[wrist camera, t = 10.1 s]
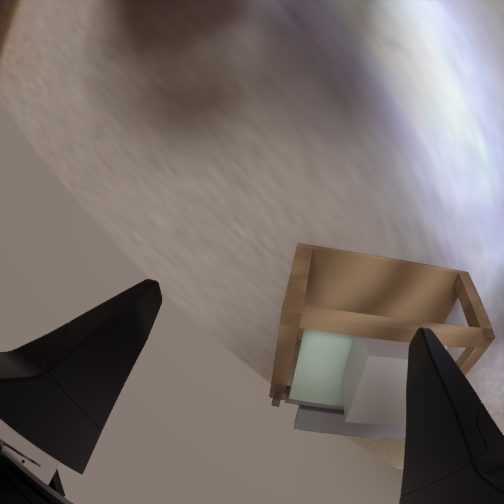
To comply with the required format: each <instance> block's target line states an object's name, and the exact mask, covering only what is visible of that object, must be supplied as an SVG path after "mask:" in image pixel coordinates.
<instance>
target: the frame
mask: <svg viewBox="0 0 504 504" xmlns="http://www.w3.org/2000/svg"><path fill="white" fill-rule="evenodd" d="M458 297H459V300H460V303H461V306H462V308H463V311H464V314H465V317H466V320H467V323H468V326H469V327H466V326H456V325H447V324H443V323H444V321H445V320H446V318H447V316H448V315H449V313H450V311H451V309H452V308H453V306H454V304H455V302H456V300H457V298H458ZM420 327H425V328H430V329H431V330H432V331H433V332H434V333H435V335H436V336H437V337H438V339H439V340H440V342H441V343H442V344H443V346H452V347H467V348H466V349H465V351H464V352H463V353H462V355H461V356H460V357H459V359H458V360H457V361H456V364H457V365H458V367H459V368H460V370H461V371H462V373H463V374H464V376H465V375H466V374H467V373H468V371H469V370H470V369H471V368H472V367H473V365H474V364H475V363H476V362H477V361H478V359H479V358H480V357H481V356H482V354H483V353H484V352H485V350H486V349H487V348H488V347H489V345H490V344H491V343H492V341H493V340H494V338H495V335H494V332H493V329H492V327H491V324H490V321H489V319H488V316H487V314H486V311H485V309H484V306H483V304H482V302H481V299H480V297H479V295H478V292H477V290H476V288H475V286H474V284H473V281H472V279H471V277H470V275H469V273H468V272H465V271H459V270H454V269H448V268H443V267H437V266H431V265H426V264H420V263H414V262H409V261H403V260H397V259H391V258H385V257H379V256H374V255H368V254H362V253H356V252H350V251H343V250H337V249H331V248H325V247H319V246H313V245H306V244H300V243H298V244H297V248H296V253H295V257H294V261H293V266H292V270H291V274H290V278H289V283H288V287H287V291H286V295H285V299H284V303H283V307H282V312H281V319H280V327H279V334H278V341H277V349H276V356H275V363H274V369H273V376H272V383H271V389H270V396H269V397H271V398H273V400H272V406H278V407H279V404H280V400H281V399H282V400H286V396H287V394H290V390H291V386H286V385H287V381H288V377H289V372H290V368H291V364H292V359H293V355H294V350H295V345H296V341H297V340H299V341H301V340H302V336H303V331H304V328H305V329H311V330H318V331H324V332H330V333H337V334H344V335H351V336H358V337H365V338H373V339H381V340H389V341H398V342H408V343H410V342H411V340H412V338H413V337H414V335H415V333H416V331H417V330H418V328H420Z"/></svg>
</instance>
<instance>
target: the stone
mask: <svg viewBox="0 0 504 504" xmlns="http://www.w3.org/2000/svg"><path fill="white" fill-rule="evenodd" d="M409 344H410V343H408V342H398V341H389V340H381V339H373V338H365V337H358V336H354V340H353V343H352V347H351V351H350V354H349V358H348V361H347V365H346V368H345V371H344V374H343V378H342V389H343V402H344V417H345V422H351V423H363V424H380V425H406V381H407V367H408V349H409Z"/></svg>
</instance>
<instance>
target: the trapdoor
mask: <svg viewBox="0 0 504 504" xmlns="http://www.w3.org/2000/svg"><path fill="white" fill-rule="evenodd" d="M353 340H354V336H351V335H344V334H337V333H330V332H324V331H318V330H311V329H305V328H304V331H303V336H302V340H301V345H300V350H299V355H298V359H297V364H296V368H295V373H294V377H293V381H292V386H291V390H290V394H287V396H286V400H285V402H286V403H291V404H298V405H299V408H298V412H297V415H296V419H295V425H294V429H299V430H306V431H312V432H320V433H328V434H338V435H347V436H360V437H378V438H405V437H406V425H380V424H363V423H351V422H345V417H344V402H343V389H342V378H343V374H344V371H345V368H346V365H347V361H348V358H349V354H350V351H351V347H352V343H353ZM444 347H445V348H446V350H447V348H448V346H444Z"/></svg>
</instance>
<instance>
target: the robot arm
mask: <svg viewBox="0 0 504 504" xmlns="http://www.w3.org/2000/svg"><path fill="white" fill-rule="evenodd" d="M161 304H162V295H161V291H160V286H159V283H158V282H157V281H156V280H151V279H146V280H144V281H142V282H140V283H138V284H136V285H135V286H133V287H131V288H129V289H127V290H125V291H124V292H122V293H120V294H118V295H116V296H115V297H113V298H111V299H109V300H107V301H105V302H104V303H102V304H100V305H98V306H97V307H95V308H93V309H91V310H89V311H88V312H86V313H84V314H82V315H80V316H79V317H77V318H75V319H73V320H72V321H70V322H69V323H66V324H65V325H63V326H61V327H59V328H58V329H55V330H54V331H52V332H50V333H48V334H46V335H44V336H42V337H40V338H38V339H36V340H34V341H31V342H29V343H27V344H25V345H23V346H21V347H19V348H17V349H14V350H12V351H8V352H0V504H73V503H72V502H70V501H69V500H67V499H66V498H64V496H65V493H64V490H63V487H62V484H61V481H60V477H59V473H58V470H57V468H58V466H59V464H60V462H61V463H62V464H64V465H66V466H67V467H69V468H71V469H73V470H74V471H76V472H78V473H80V474H83V472H84V470H85V468H86V466H87V463H88V461H89V459H90V457H91V454H92V452H93V450H94V448H95V445H96V443H97V441H98V439H99V437H100V435H101V432H102V430H103V428H104V426H105V423H106V421H107V419H108V417H109V415H110V413H111V410H112V409H113V406H114V404H115V402H116V400H117V398H118V396H119V394H120V392H121V389H122V388H123V386H124V383H125V382H126V380H127V378H128V376H129V374H130V372H131V370H132V368H133V366H134V364H135V362H136V360H137V358H138V356H139V354H140V352H141V351H142V349H143V347H144V345H145V343H146V341H147V339H148V336H149V334H150V331H151V329H152V327H153V324H154V321H155V319H156V316H157V314H158V311H159V309H160V306H161ZM399 504H504V435H503V434H502V432H501V431H500V430H499V428H498V427H497V425H496V424H495V422H494V421H493V419H492V418H491V416H490V414H489V413H488V411H487V410H486V408H485V407H484V405H483V403H481V400H480V399H479V397H478V395H477V394H476V392H475V391H474V389H473V388H472V386H471V385H470V383H469V382H468V380H467V379H466V377H465V376H464V374H463V373H462V371H461V370H460V368H459V367H458V365H457V364H456V363H455V361H454V360H453V358H452V357H451V355H450V354H449V353H448V351H447V350H446V348H445V347H444V346H443V344H442V343H441V342H440V340H439V339H438V337H437V336H436V335H435V333H434V332H433V331H432V330H431V329H430V328H425V327H420V328H418V330H417V331H416V333H415V335H414V337H413V338H412V340H411V342H410V344H409V349H408V367H407V381H406V437H405V456H404V469H403V479H402V488H401V497H400V502H399Z"/></svg>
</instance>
